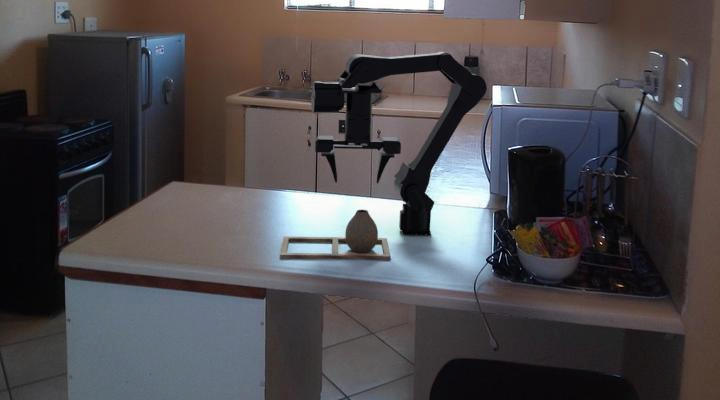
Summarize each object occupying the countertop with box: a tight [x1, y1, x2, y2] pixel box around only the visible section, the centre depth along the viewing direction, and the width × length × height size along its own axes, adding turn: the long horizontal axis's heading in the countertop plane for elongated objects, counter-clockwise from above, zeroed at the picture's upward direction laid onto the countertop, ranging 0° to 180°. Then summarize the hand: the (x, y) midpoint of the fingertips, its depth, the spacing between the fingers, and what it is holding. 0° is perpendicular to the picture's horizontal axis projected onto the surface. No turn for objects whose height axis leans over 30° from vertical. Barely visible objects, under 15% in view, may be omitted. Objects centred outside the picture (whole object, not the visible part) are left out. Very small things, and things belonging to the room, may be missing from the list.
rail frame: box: [279, 236, 392, 261], centre depth 163 cm, size 23×12×1 cm, turn 92°
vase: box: [344, 209, 379, 254], centre depth 162 cm, size 7×7×9 cm
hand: (356, 182), depth 171 cm, fingers open, 9 cm apart
